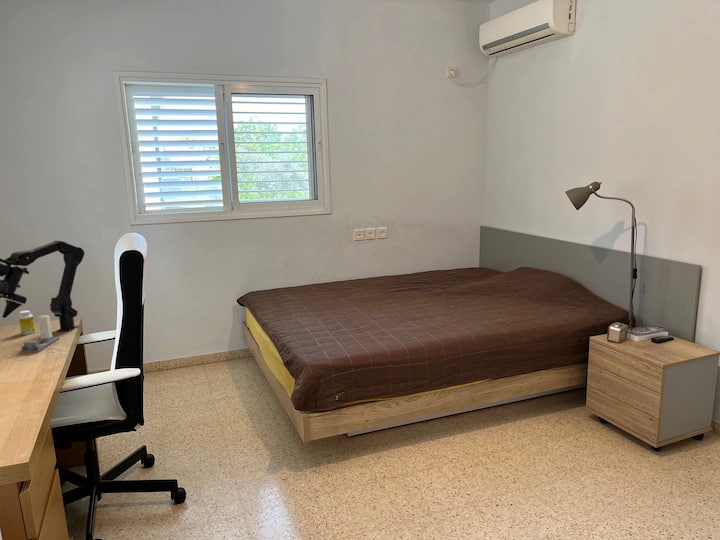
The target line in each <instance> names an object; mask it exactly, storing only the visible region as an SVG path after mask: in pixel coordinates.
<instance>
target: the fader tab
mask: <svg viewBox="0 0 720 540" xmlns="http://www.w3.org/2000/svg"><path fill="white" fill-rule="evenodd" d="M37 320H38V324H39V325H38V327H39V331H40V337H41V338H40V339H39V340H40V341H49V340H51V339H52V338H54V337H55V336H54V335H53V333H52V332H53V331H52V326H51V318H50V314H49V315H47V314H46V315H45V314H44V315H39V316H38V317H37Z"/></svg>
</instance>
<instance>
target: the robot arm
mask: <svg viewBox="0 0 720 540" xmlns="http://www.w3.org/2000/svg"><path fill="white" fill-rule="evenodd" d="M55 252H59V253H60V254H61V255H63V257H62V259H63V262H64V269H63V273H62V277H61V281H60V285H59V289H58V293H57V295H56V296H55V297H51V299H50V305H49V307H50V308H49V309H50V311H51V313H53V315H54V318H55V317H56V318H58V319H59V321H58V322H59V325H60V326H59V328H58V329H57V331H58V330H70V329H71V331H73V330H75V329H76V328H75V326H76V327H77V326H78V325H75V319H74V317H77V316H78V310H76V309H75V308H73V307H72V306H73V301H72V298H71V294H72V289H73V285H74V281H75V277H76V274H77V273H76V272H77V268H78V266H79V265H80V264H82V262H83V259H84V257H85V251H84V249H83V248H82V247H80V246H79V247H77V246H74V245H72V244H70V243H67V242H66V241H63V240H54V241H52V242H49V243H47V244H45V245H41V246H38V247H36V248H33V249H29V250H19V251H16V252H12V253H11V254H10V256H9V257H7V258H5V259H2V258H1V257H0V277H3V279H0V299H1V298H2V299H5V304H6V305H5V307H4V311H3V313H2V318H3V319H6V318H7V317H8V316H9V315H11V313H13V312H14V311H15V310H17V309H18V308H19V307H21V306H23V305H25V304H26V303H27V301H28V299H27V296H24V295H20V294H18V293H16V291H17V288H18V289H20V288H21V285H20V282H21V280H22V277H23V275H29V274H30V271H29V270H28V268H27V267H28V266H29V265H32V264H33V263H34V262H35V261H37V259H39V258H42V257H45V256H48V255H49V254H50V255H51V254H53V253H55ZM74 328H75V329H74ZM77 328H78V327H77ZM72 329H73V330H72Z"/></svg>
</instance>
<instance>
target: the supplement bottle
mask: <svg viewBox="0 0 720 540" xmlns="http://www.w3.org/2000/svg"><path fill="white" fill-rule="evenodd" d="M17 319H18V324H19V330H20V333H21V334H22V335H31V334H34V333H35V332H36V328H35V327H36V326H35V322H34V321H35V320H34V315H33V314H32V313H31V310H27V309H26V310H21V311H19V316H18V318H17ZM33 332H34V333H33ZM30 333H31V334H30Z"/></svg>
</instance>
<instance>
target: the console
mask: <svg viewBox="0 0 720 540" xmlns="http://www.w3.org/2000/svg"><path fill="white" fill-rule="evenodd" d="M59 339H60V337H58V336H57V337H55V336H54V338H52V339H51V340H49V341H40V339H39V340H27V341H24V342H23V345H22V346H21V350H20V351H19V353H20V354H38V352H39V353H41V352H42V351H44V350H45V349H47V348H49V347H51V346H52V345H53V343H54V344H55V343H57V342H58V340H59ZM56 341H57V342H56ZM59 341H60V340H59ZM51 344H52V345H51ZM48 346H49V347H48ZM43 349H44V350H43Z"/></svg>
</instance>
